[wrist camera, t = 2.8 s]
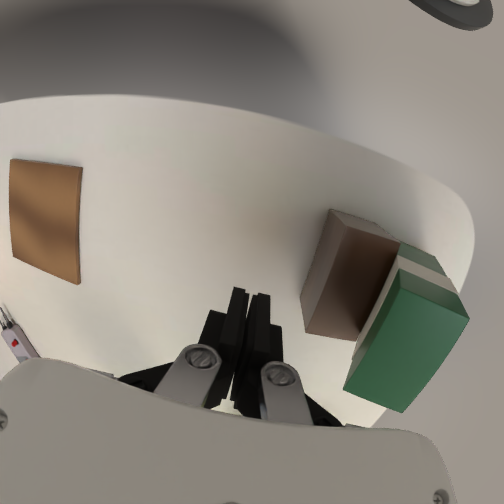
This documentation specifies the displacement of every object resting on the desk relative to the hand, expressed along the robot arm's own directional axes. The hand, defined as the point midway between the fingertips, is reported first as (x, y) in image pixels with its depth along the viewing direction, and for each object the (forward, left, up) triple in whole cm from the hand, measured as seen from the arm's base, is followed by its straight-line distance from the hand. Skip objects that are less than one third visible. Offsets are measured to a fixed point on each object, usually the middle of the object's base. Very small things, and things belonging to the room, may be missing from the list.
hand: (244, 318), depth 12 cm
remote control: (+27, -33, -10) cm, 44 cm away
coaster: (+3, -23, -10) cm, 25 cm away
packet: (0, +11, -10) cm, 15 cm away
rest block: (0, +7, -10) cm, 12 cm away
